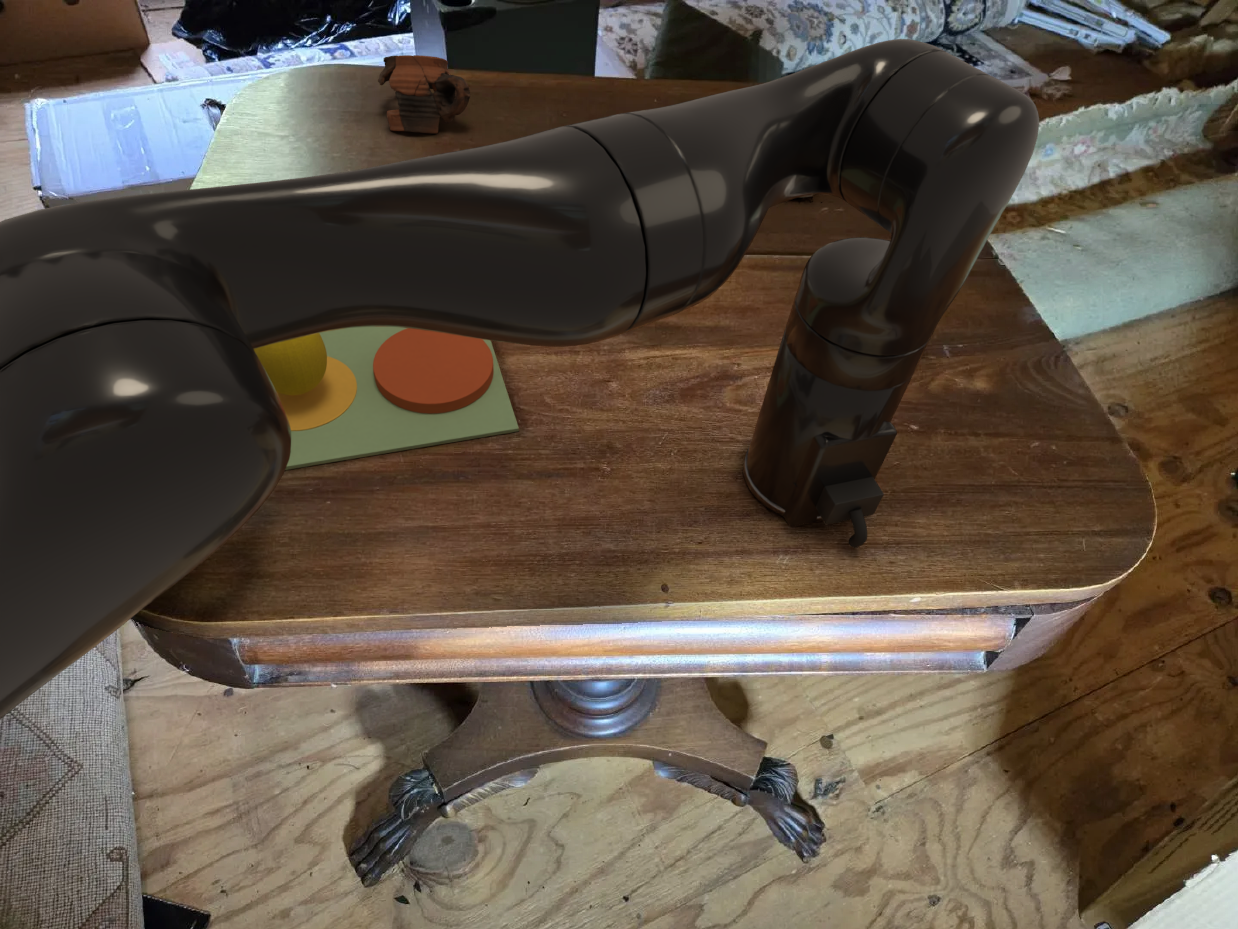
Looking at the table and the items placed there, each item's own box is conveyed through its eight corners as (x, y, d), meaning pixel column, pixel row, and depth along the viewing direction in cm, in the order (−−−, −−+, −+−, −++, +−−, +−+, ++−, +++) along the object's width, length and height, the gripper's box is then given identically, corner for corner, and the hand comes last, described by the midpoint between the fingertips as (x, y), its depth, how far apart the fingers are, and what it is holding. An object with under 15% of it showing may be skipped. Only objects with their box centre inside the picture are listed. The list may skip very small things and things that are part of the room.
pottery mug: (364, 131, 99) (358, 53, 96) (412, 136, 107) (408, 64, 105) (452, 131, 95) (449, 50, 92) (495, 136, 103) (493, 61, 101)
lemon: (343, 403, 70) (326, 327, 64) (273, 423, 67) (249, 347, 61) (323, 361, 73) (305, 285, 66) (256, 379, 70) (231, 302, 64)
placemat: (518, 431, 70) (518, 418, 69) (232, 478, 64) (227, 465, 63) (479, 309, 80) (479, 295, 78) (228, 340, 74) (223, 326, 73)
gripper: (105, 594, 44) (281, 389, 54) (-125, 513, 46) (88, 331, 56) (153, 663, 49) (304, 466, 60) (-53, 589, 51) (128, 410, 62)
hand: (199, 401), depth 58 cm, fingers open, 8 cm apart
